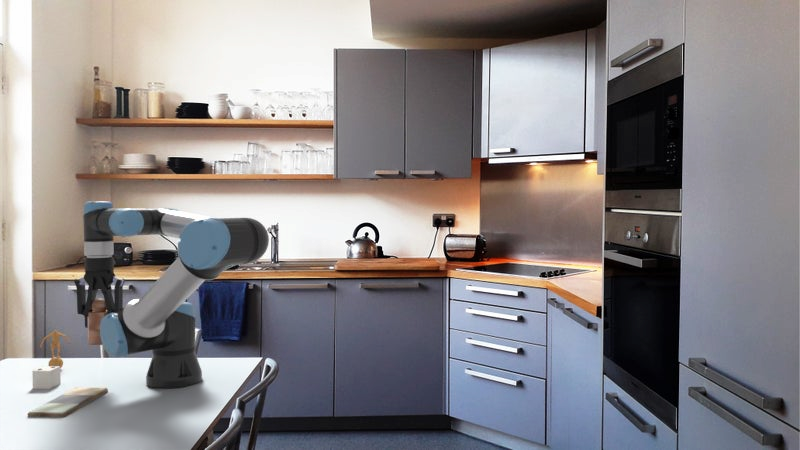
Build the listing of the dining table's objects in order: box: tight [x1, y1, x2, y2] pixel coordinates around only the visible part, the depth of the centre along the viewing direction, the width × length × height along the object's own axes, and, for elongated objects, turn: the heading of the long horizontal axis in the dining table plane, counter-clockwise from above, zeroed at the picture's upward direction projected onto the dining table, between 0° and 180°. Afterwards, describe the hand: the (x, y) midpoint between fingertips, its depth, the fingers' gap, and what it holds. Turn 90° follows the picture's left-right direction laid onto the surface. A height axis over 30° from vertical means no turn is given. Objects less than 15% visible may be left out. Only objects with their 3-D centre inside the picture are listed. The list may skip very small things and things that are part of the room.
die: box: [31, 365, 62, 390], centre depth 182 cm, size 5×5×5 cm
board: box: [27, 386, 109, 418], centre depth 165 cm, size 9×21×1 cm, turn 177°
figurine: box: [39, 329, 71, 369], centre depth 200 cm, size 8×6×12 cm
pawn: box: [88, 297, 108, 346], centre depth 182 cm, size 4×4×13 cm
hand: (100, 339), depth 182 cm, fingers closed on pawn, 4 cm apart
